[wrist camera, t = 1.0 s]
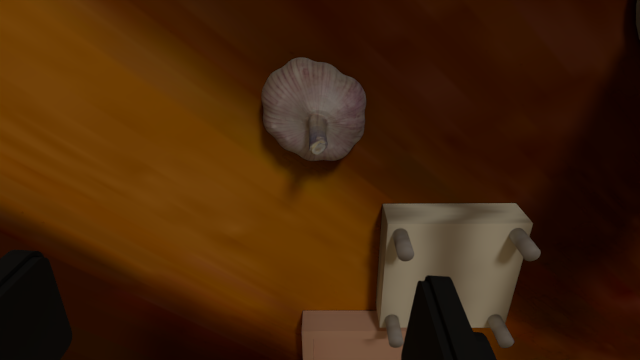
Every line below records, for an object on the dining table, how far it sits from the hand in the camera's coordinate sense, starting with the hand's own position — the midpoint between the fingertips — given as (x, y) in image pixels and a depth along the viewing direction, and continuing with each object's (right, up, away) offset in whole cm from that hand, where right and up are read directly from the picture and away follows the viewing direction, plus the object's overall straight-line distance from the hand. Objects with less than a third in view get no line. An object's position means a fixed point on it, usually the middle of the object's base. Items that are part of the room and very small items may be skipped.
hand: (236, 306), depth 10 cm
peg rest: (+13, -4, +25) cm, 28 cm away
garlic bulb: (+2, +9, +19) cm, 21 cm away
